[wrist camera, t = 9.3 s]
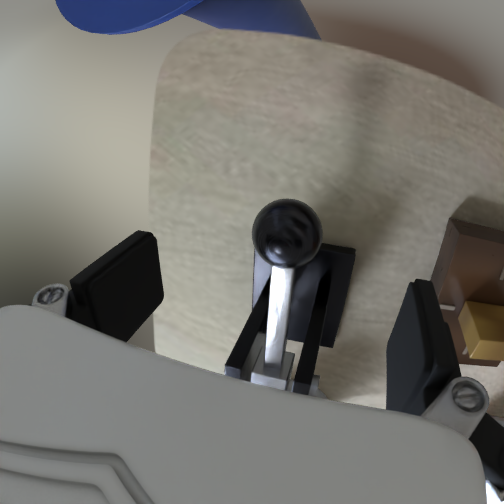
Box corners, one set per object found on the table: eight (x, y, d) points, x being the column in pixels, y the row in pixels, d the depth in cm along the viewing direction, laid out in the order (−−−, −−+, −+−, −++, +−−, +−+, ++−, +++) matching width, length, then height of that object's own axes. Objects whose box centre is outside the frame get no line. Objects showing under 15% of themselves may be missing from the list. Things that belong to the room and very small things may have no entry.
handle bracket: (258, 232, 26) (196, 322, 16) (355, 248, 24) (349, 356, 14) (254, 324, 31) (208, 419, 21) (334, 340, 29) (314, 446, 19)
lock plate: (449, 217, 21) (460, 234, 18) (539, 241, 18) (555, 258, 15) (407, 336, 26) (410, 359, 24) (490, 346, 24) (497, 368, 21)
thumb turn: (457, 318, 21) (470, 361, 17) (465, 300, 20) (481, 342, 16) (503, 324, 19) (519, 364, 15) (511, 306, 19) (531, 346, 14)
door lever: (264, 186, 15) (243, 207, 13) (329, 195, 14) (323, 219, 12) (254, 367, 22) (240, 401, 19) (298, 376, 21) (288, 412, 18)
